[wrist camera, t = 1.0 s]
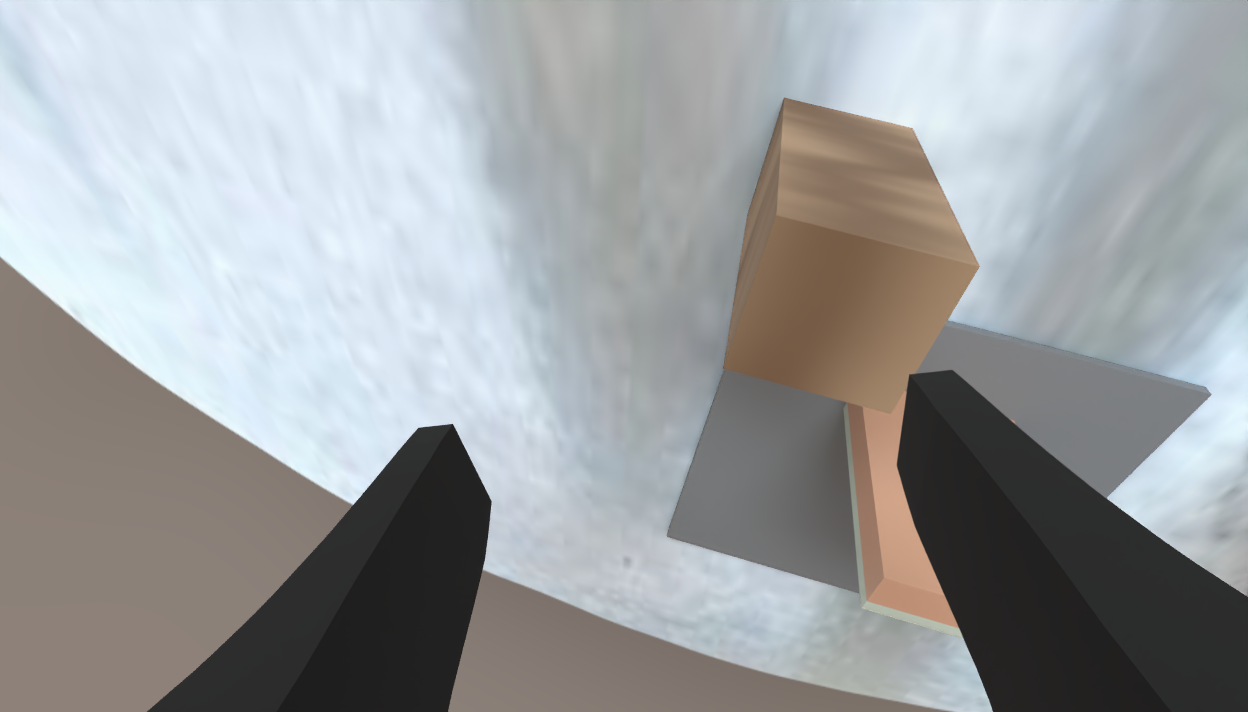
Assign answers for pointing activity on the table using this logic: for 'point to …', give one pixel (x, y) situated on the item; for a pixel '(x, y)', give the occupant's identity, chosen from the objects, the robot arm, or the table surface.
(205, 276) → the table surface
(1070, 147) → the table surface
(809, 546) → the rubber mat
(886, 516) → the flat slab
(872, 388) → the wooden block
